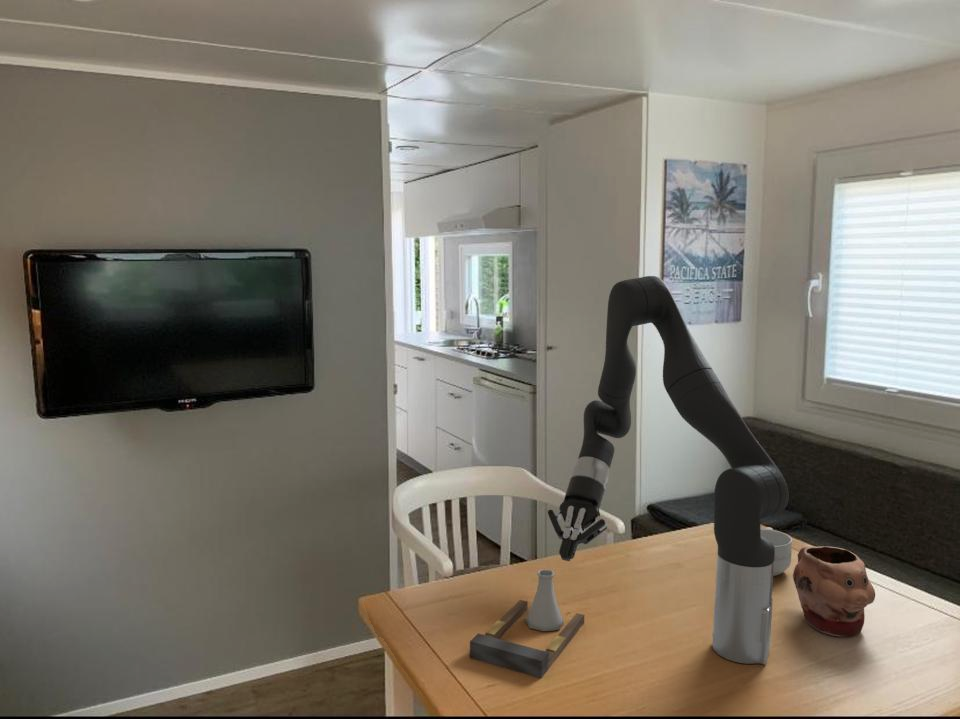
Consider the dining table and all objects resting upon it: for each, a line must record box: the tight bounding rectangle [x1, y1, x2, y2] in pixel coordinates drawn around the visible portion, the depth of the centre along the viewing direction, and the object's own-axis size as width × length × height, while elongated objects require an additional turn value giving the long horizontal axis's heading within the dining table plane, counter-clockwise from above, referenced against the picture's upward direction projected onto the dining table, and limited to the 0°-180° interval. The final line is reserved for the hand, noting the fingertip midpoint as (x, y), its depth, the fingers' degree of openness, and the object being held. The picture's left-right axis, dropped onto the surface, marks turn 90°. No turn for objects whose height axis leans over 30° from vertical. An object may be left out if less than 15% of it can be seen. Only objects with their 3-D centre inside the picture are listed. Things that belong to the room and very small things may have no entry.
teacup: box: [760, 526, 793, 577], centre depth 164 cm, size 14×11×8 cm
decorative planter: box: [792, 545, 876, 637], centre depth 140 cm, size 20×12×14 cm, turn 14°
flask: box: [525, 568, 565, 632], centre depth 138 cm, size 7×7×10 cm
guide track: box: [469, 599, 585, 679], centre depth 132 cm, size 13×21×3 cm, turn 153°
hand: (565, 559), depth 147 cm, fingers closed
